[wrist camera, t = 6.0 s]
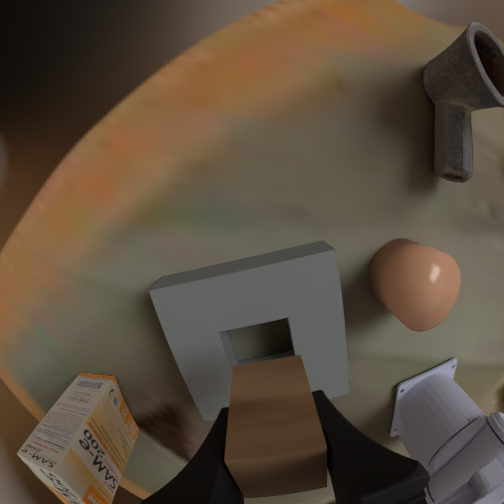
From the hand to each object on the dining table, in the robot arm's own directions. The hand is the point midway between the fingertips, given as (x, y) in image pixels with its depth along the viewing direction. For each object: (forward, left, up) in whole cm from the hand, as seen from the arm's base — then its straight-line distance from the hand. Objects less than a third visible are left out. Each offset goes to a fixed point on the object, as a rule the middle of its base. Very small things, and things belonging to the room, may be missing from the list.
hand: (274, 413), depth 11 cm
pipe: (+14, -19, -10) cm, 26 cm away
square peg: (0, 0, -2) cm, 2 cm away
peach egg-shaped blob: (+1, -12, -10) cm, 15 cm away
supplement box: (-7, +17, -10) cm, 21 cm away
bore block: (-1, +1, -9) cm, 9 cm away
